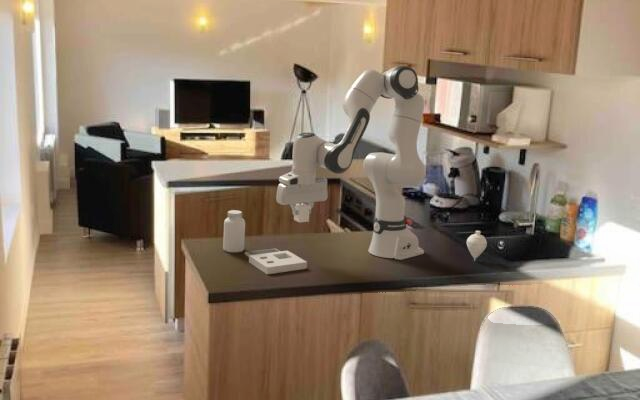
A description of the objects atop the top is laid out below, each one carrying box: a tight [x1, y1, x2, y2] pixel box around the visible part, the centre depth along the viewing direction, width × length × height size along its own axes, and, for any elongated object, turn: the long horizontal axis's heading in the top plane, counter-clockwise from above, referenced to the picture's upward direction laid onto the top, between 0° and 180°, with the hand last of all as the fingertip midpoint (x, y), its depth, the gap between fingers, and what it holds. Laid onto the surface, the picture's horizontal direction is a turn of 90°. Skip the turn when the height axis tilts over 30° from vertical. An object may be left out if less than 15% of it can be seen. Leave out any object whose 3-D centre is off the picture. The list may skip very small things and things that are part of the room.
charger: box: [293, 203, 310, 223], centre depth 249 cm, size 4×4×7 cm
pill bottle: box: [222, 209, 246, 254], centre depth 256 cm, size 8×8×15 cm
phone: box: [244, 248, 281, 258], centre depth 253 cm, size 13×7×2 cm, turn 123°
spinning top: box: [466, 230, 488, 262], centre depth 261 cm, size 8×8×12 cm
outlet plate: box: [248, 250, 308, 275], centre depth 243 cm, size 16×14×3 cm
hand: (301, 214), depth 249 cm, fingers closed on charger, 4 cm apart
